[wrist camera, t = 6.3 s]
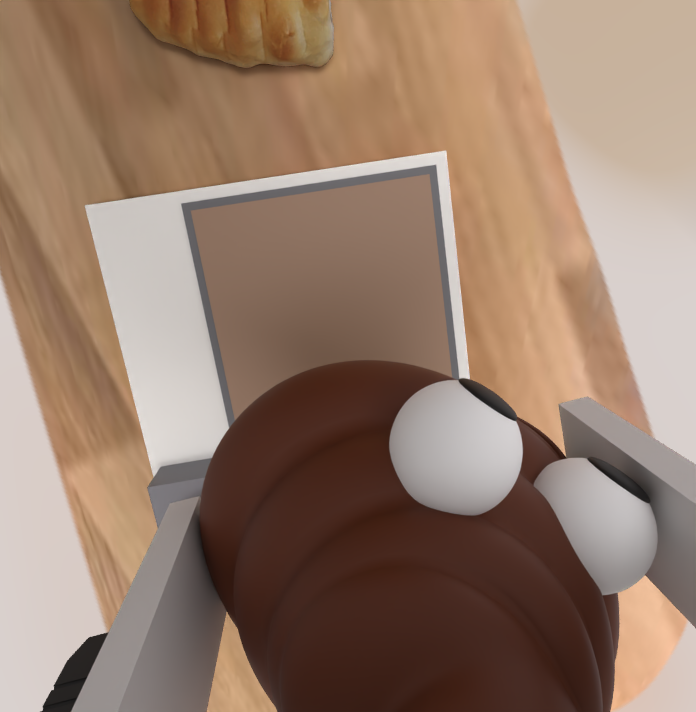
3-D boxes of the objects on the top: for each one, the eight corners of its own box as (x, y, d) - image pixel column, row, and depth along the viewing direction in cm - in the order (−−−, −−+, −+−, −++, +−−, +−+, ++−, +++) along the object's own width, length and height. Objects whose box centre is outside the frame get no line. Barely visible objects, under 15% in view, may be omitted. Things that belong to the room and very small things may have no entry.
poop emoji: (151, 547, 14) (-118, 1113, 5) (322, 268, 13) (358, 388, 4) (456, 692, 16) (647, 1291, 7) (635, 465, 15) (1156, 856, 6)
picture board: (92, 206, 27) (62, 202, 24) (441, 153, 28) (459, 142, 25) (179, 554, 32) (164, 592, 29) (478, 501, 33) (498, 532, 29)
